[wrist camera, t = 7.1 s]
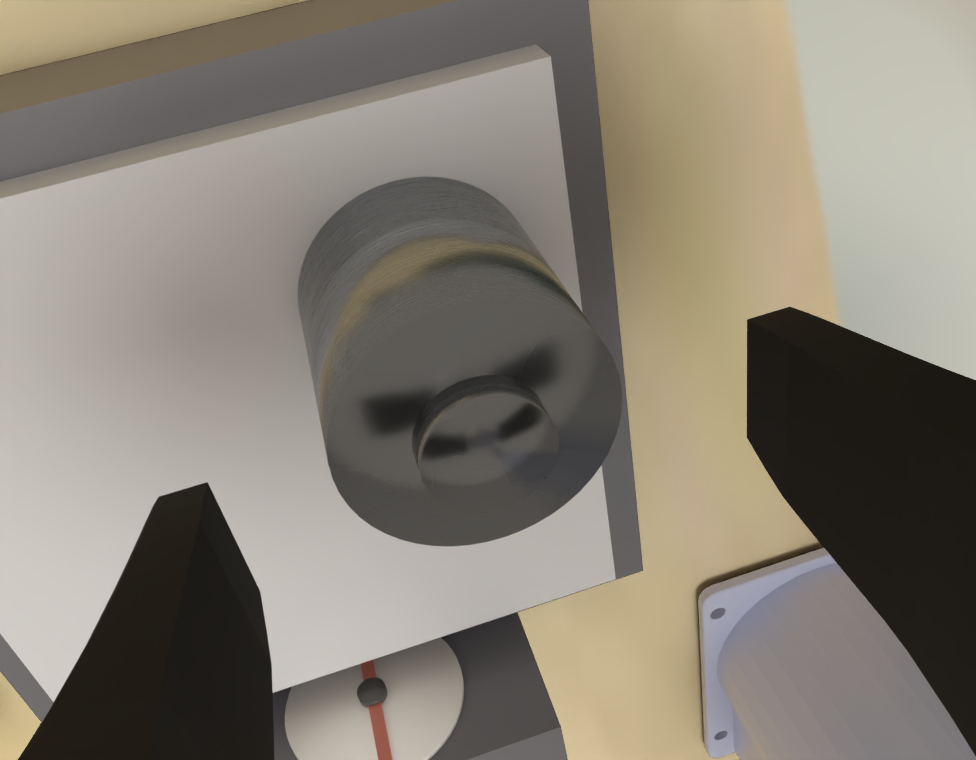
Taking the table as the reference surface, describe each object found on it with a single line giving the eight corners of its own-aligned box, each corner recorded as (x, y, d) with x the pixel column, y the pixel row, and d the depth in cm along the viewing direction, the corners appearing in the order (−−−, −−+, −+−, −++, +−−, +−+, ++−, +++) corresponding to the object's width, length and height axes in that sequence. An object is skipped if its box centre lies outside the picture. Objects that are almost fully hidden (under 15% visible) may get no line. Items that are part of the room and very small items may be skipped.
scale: (614, 555, 27) (704, 725, 22) (112, 720, 25) (93, 943, 21) (539, -56, 17) (674, 15, 12) (-301, 149, 15) (-526, 324, 11)
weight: (520, 382, 18) (611, 554, 14) (301, 399, 17) (333, 591, 13) (547, 175, 16) (664, 311, 12) (293, 178, 15) (329, 331, 11)
